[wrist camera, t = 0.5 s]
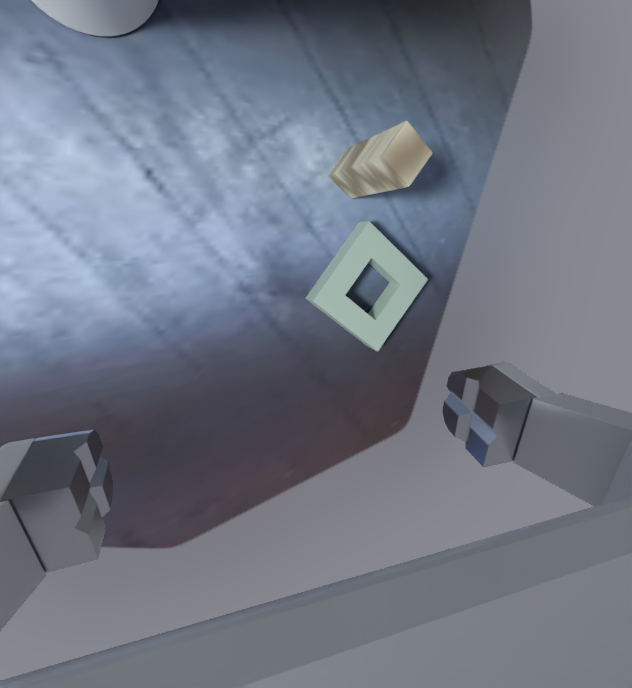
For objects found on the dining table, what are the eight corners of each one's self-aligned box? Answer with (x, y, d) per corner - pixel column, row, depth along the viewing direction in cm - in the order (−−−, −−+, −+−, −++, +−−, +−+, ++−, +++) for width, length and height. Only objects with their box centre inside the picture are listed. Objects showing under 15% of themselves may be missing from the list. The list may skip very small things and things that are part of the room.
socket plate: (305, 298, 55) (312, 301, 52) (358, 222, 55) (369, 221, 53) (368, 346, 61) (377, 351, 58) (416, 277, 61) (428, 279, 59)
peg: (327, 175, 52) (381, 156, 39) (346, 148, 52) (406, 120, 39) (350, 198, 54) (409, 186, 41) (369, 172, 54) (432, 152, 41)
